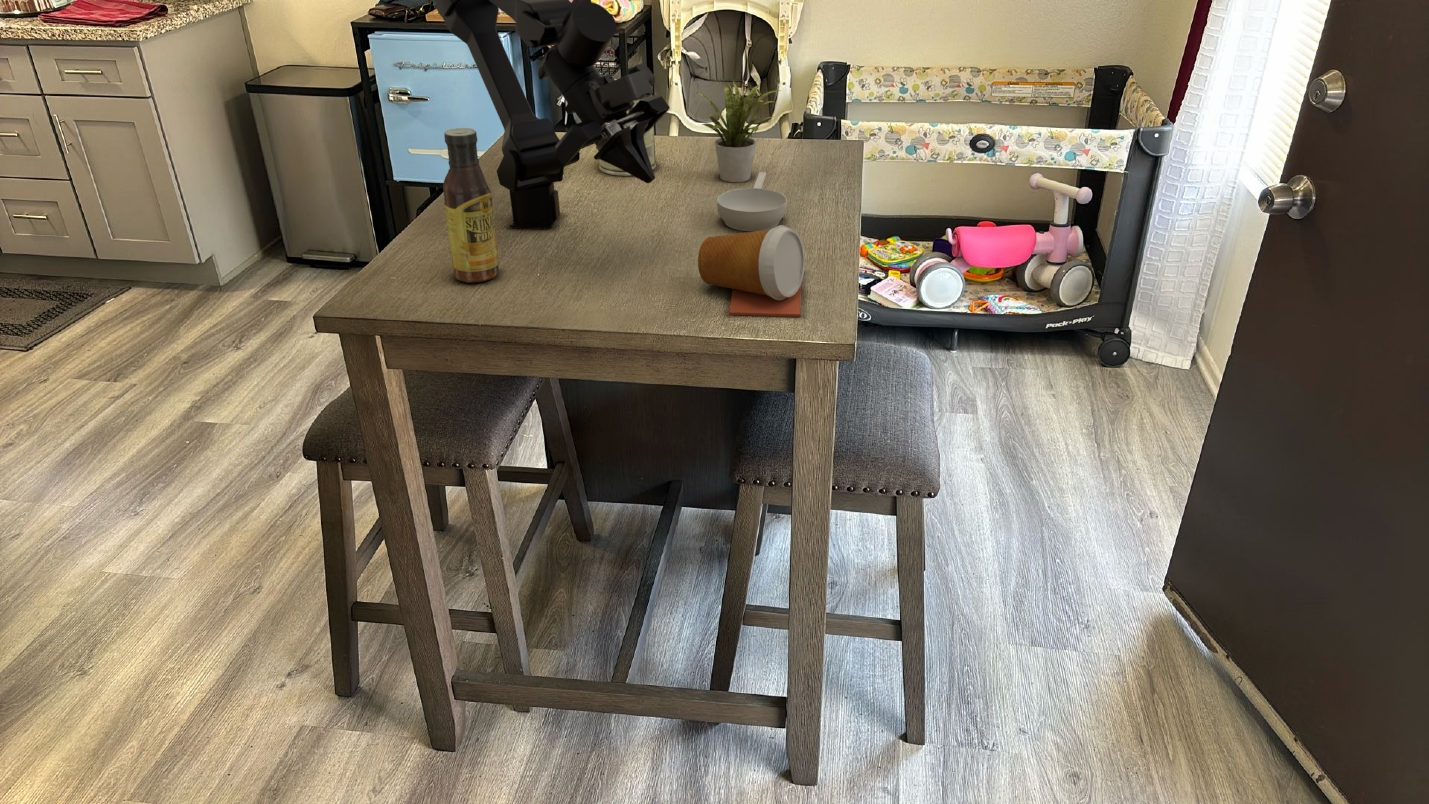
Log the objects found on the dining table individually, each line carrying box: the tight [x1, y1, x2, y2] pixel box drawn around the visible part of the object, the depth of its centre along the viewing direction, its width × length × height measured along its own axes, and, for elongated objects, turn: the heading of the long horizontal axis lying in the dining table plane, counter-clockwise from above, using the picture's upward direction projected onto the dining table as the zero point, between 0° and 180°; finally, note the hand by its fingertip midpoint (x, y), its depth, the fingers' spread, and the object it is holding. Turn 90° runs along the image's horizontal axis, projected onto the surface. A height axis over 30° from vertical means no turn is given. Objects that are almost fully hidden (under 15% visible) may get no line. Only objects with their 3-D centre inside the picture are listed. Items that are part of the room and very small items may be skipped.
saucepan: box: [716, 171, 788, 232], centre depth 156 cm, size 11×18×4 cm, turn 170°
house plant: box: [695, 80, 782, 183], centre depth 167 cm, size 14×14×16 cm
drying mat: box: [728, 284, 802, 318], centre depth 131 cm, size 9×14×1 cm, turn 175°
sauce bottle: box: [442, 127, 499, 284], centre depth 131 cm, size 6×6×20 cm
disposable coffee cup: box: [697, 224, 806, 300], centre depth 129 cm, size 10×10×12 cm
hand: (651, 181), depth 132 cm, fingers closed
